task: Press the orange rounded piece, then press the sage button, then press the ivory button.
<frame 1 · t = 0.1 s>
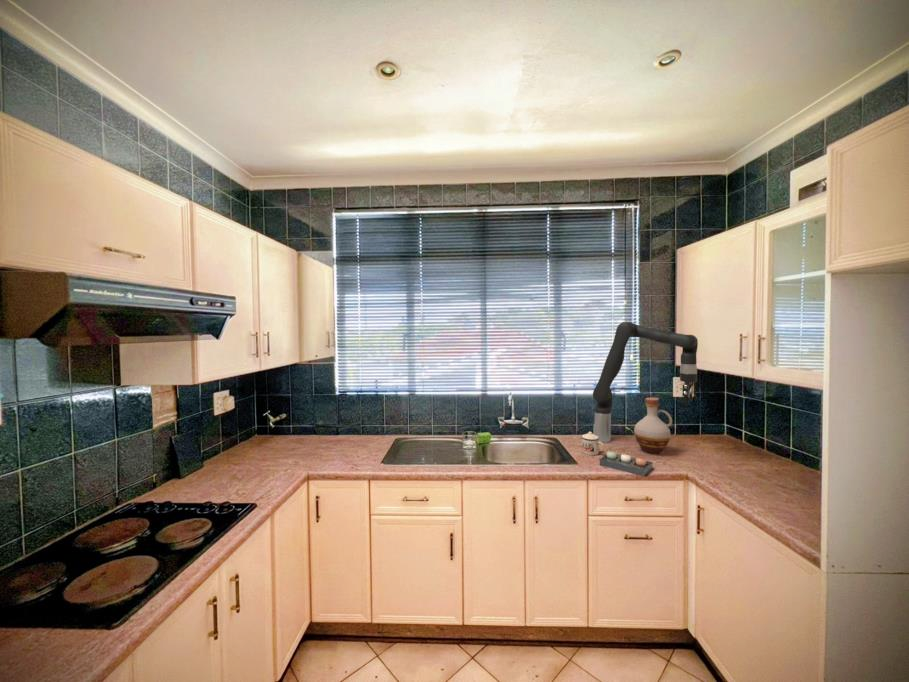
hand: (688, 402, 190), 29 cm above the counter, fingers open, 8 cm apart
ivory button: (625, 459, 179), point 4 cm above the counter, slide at 0.0 cm
teacup with lid: (592, 453, 199), on the counter
orange rounded piece: (640, 462, 174), point 4 cm above the counter, slide at 0.0 cm
jug: (653, 451, 200), on the counter
panel: (625, 466, 179), on the counter
sage button: (611, 455, 184), point 4 cm above the counter, slide at 0.0 cm
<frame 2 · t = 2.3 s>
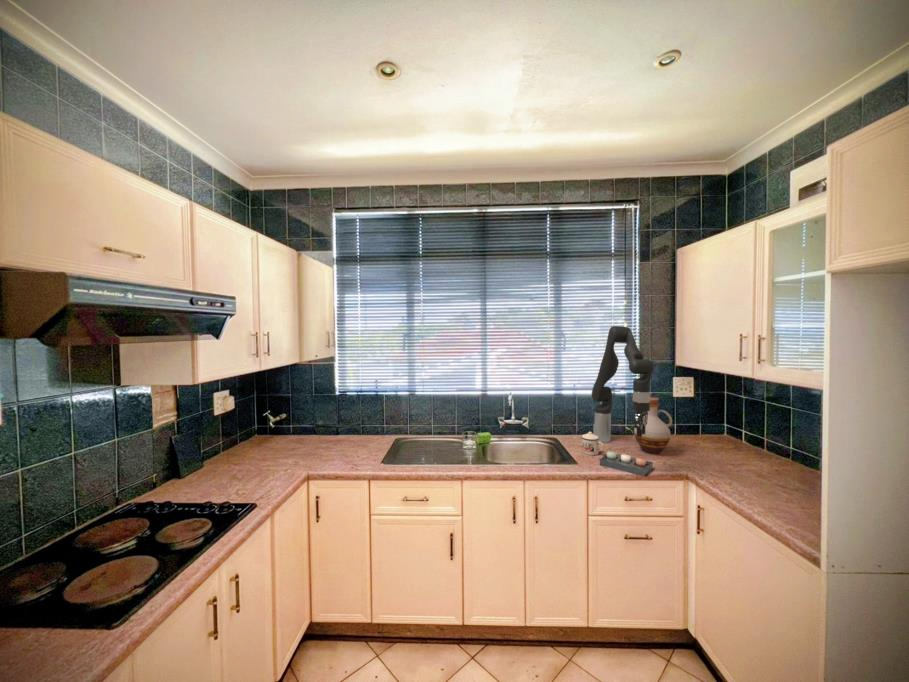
hand: (641, 435, 174), 17 cm above the counter, fingers open, 5 cm apart
nothing on the counter moved.
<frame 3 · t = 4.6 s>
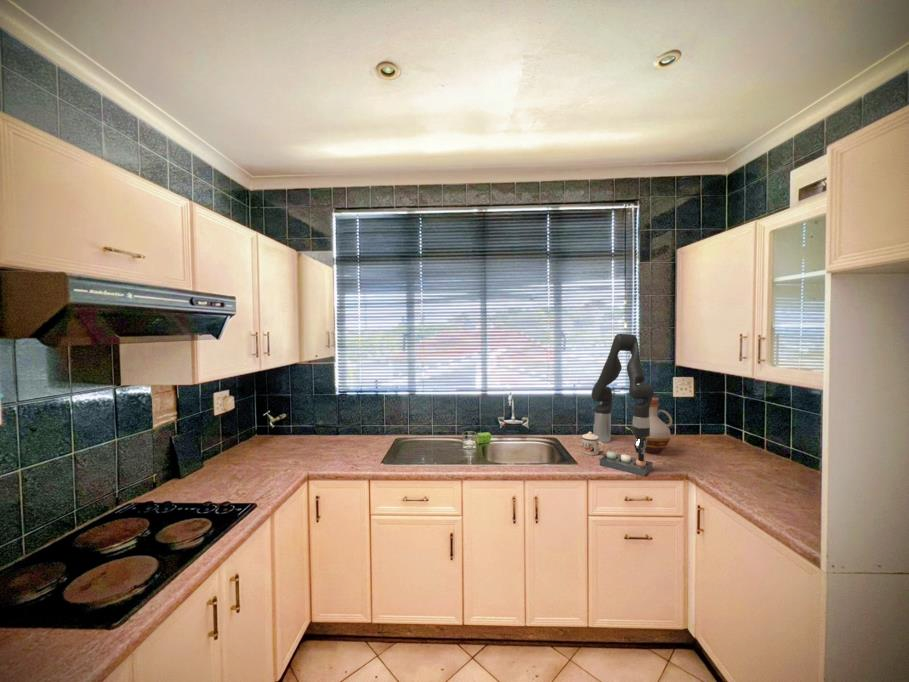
hand: (641, 460, 174), 5 cm above the counter, fingers closed
orange rounded piece: (640, 464, 174), point 3 cm above the counter, slide at 0.7 cm, touching gripper
everything else where it was.
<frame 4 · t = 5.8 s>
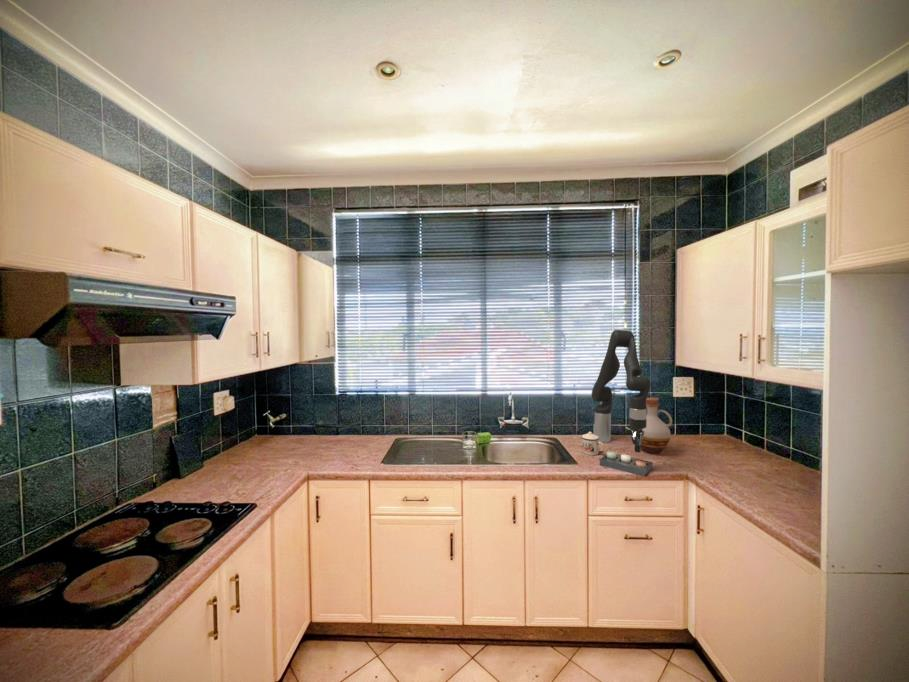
hand: (637, 451, 175), 9 cm above the counter, fingers closed
orange rounded piece: (640, 465, 174), point 2 cm above the counter, slide at 1.5 cm
everything else where it was.
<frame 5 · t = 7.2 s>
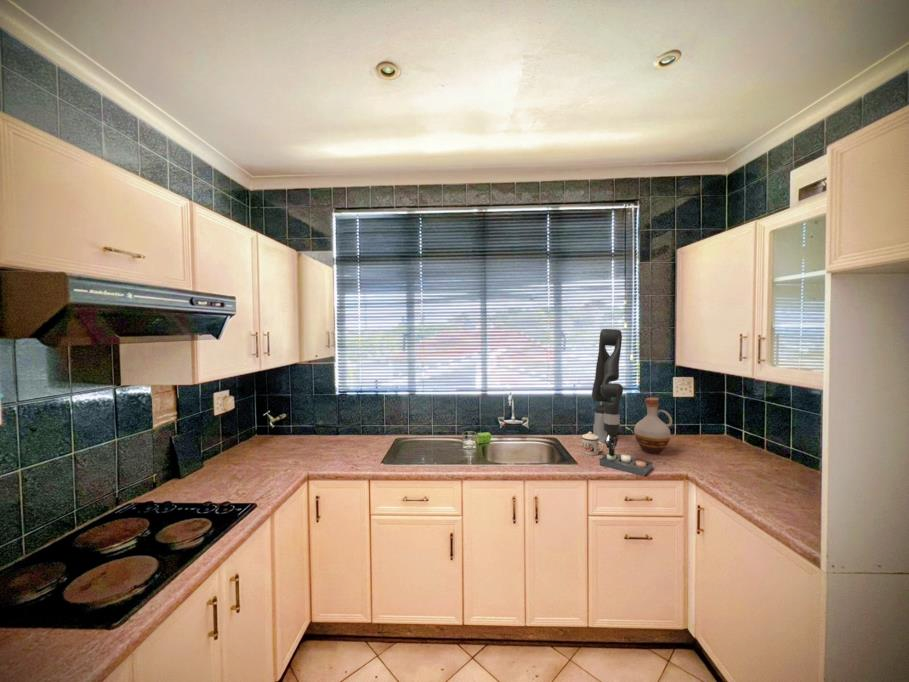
hand: (611, 455, 184), 4 cm above the counter, fingers closed
sage button: (611, 458, 184), point 2 cm above the counter, slide at 1.5 cm, touching gripper
everything else where it was.
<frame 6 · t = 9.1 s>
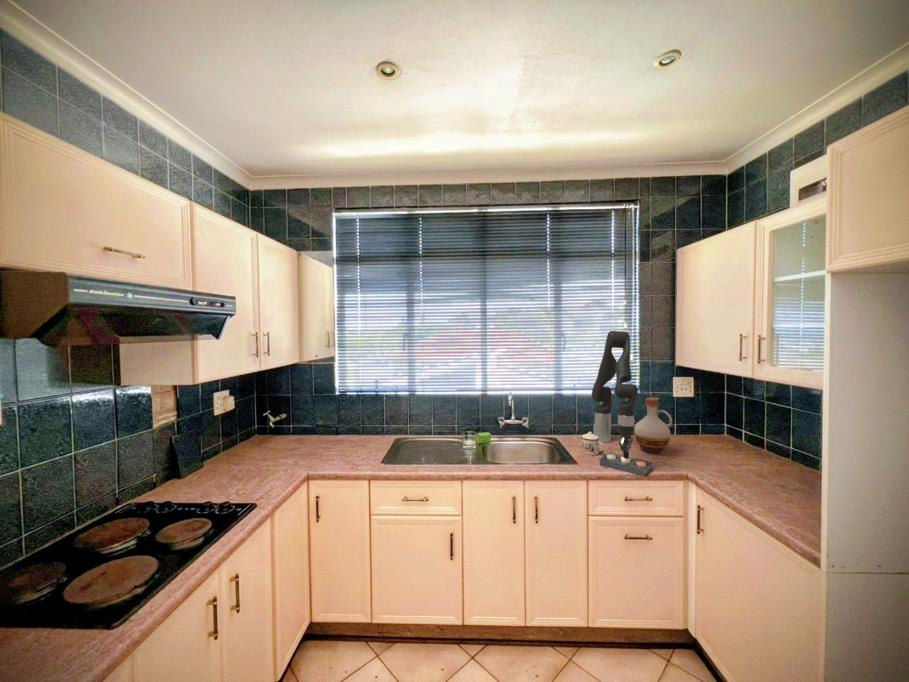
hand: (626, 458, 179), 4 cm above the counter, fingers closed
ivory button: (625, 461, 179), point 3 cm above the counter, slide at 1.1 cm, touching gripper
sage button: (611, 458, 184), point 2 cm above the counter, slide at 1.5 cm
everything else where it was.
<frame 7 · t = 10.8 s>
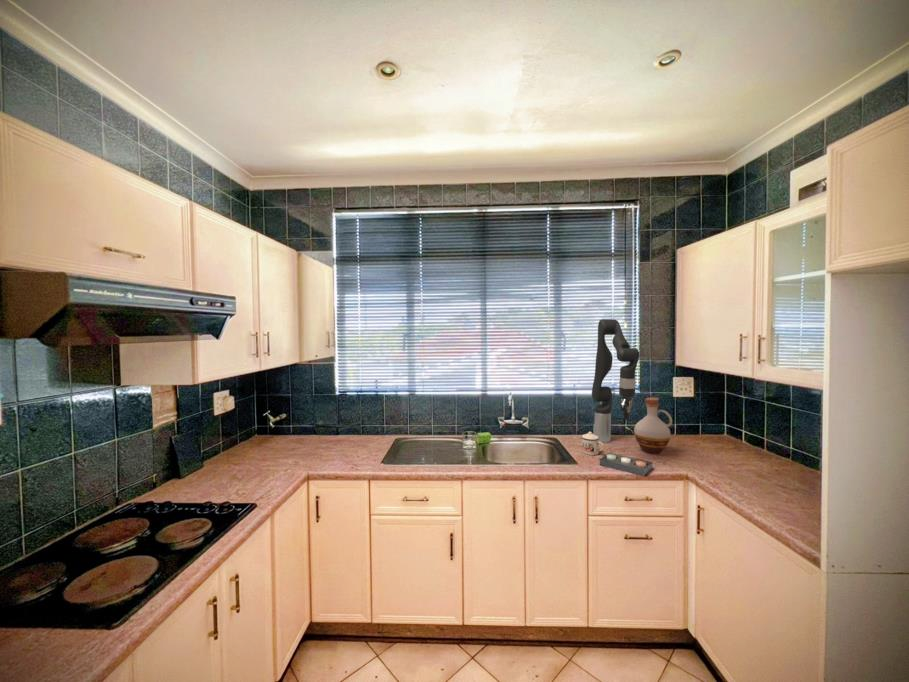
hand: (626, 419, 186), 22 cm above the counter, fingers closed
ivory button: (625, 462, 179), point 2 cm above the counter, slide at 1.5 cm
everything else where it was.
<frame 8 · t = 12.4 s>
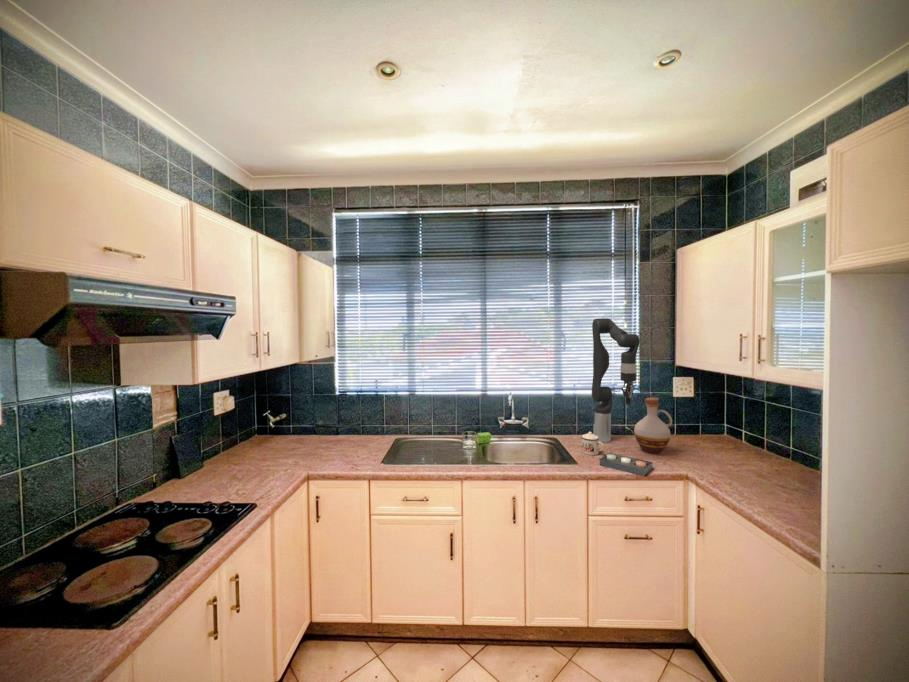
hand: (628, 404, 190), 29 cm above the counter, fingers closed
nothing on the counter moved.
at the end: orange rounded piece slide at 1.5 cm; sage button slide at 1.5 cm; ivory button slide at 1.5 cm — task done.
